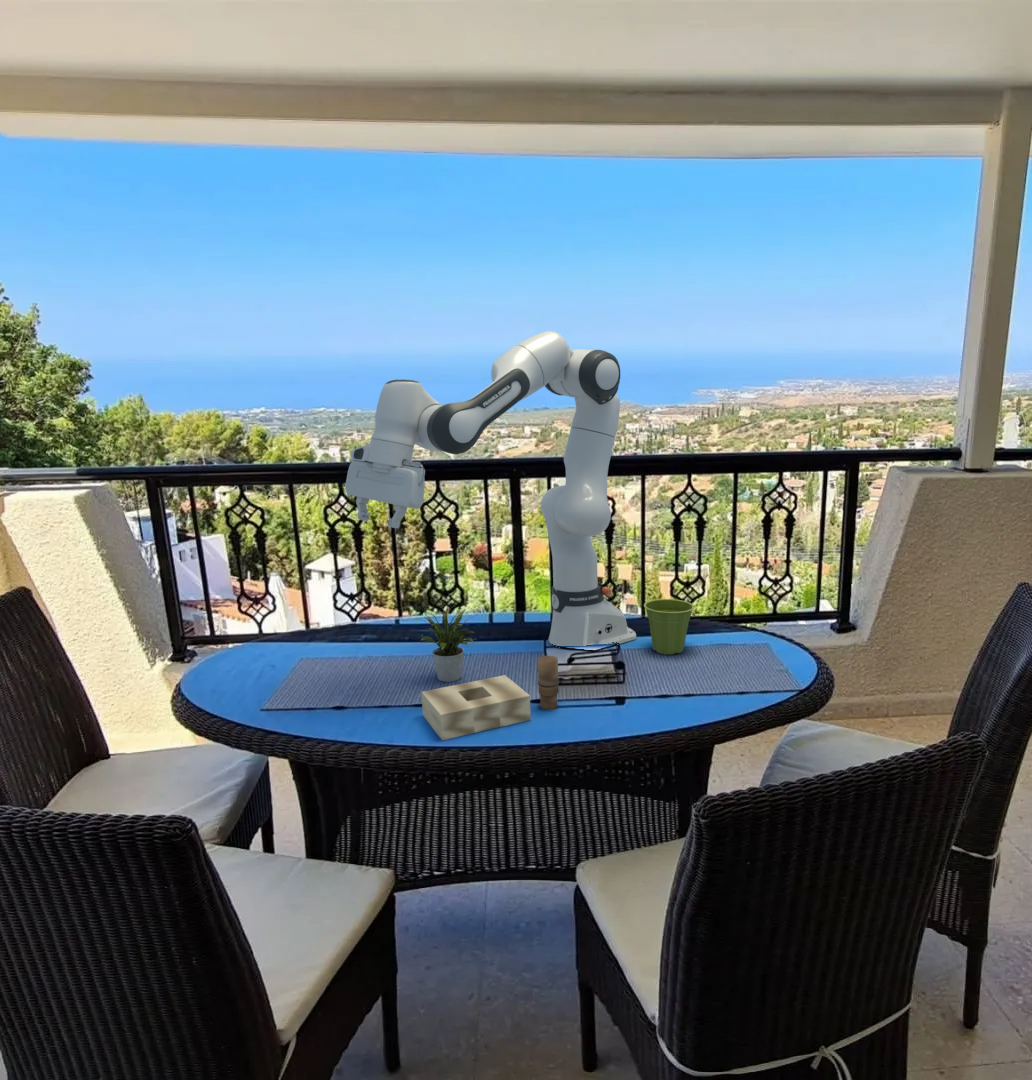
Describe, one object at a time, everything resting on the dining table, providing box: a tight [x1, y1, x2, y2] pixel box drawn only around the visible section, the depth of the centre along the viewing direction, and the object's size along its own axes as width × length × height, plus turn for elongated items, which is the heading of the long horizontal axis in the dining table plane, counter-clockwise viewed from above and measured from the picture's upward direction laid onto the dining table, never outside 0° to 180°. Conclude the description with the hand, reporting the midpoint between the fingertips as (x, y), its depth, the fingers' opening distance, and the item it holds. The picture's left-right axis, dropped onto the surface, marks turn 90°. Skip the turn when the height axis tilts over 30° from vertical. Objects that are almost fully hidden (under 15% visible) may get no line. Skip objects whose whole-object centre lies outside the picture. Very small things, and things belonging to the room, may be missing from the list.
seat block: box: [421, 674, 531, 741], centre depth 142 cm, size 18×12×5 cm, turn 114°
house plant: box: [415, 607, 476, 683], centre depth 161 cm, size 14×14×16 cm
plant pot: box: [643, 598, 695, 656], centre depth 175 cm, size 12×12×11 cm
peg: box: [537, 655, 560, 711], centre depth 146 cm, size 4×4×10 cm
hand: (377, 523), depth 150 cm, fingers open, 8 cm apart
